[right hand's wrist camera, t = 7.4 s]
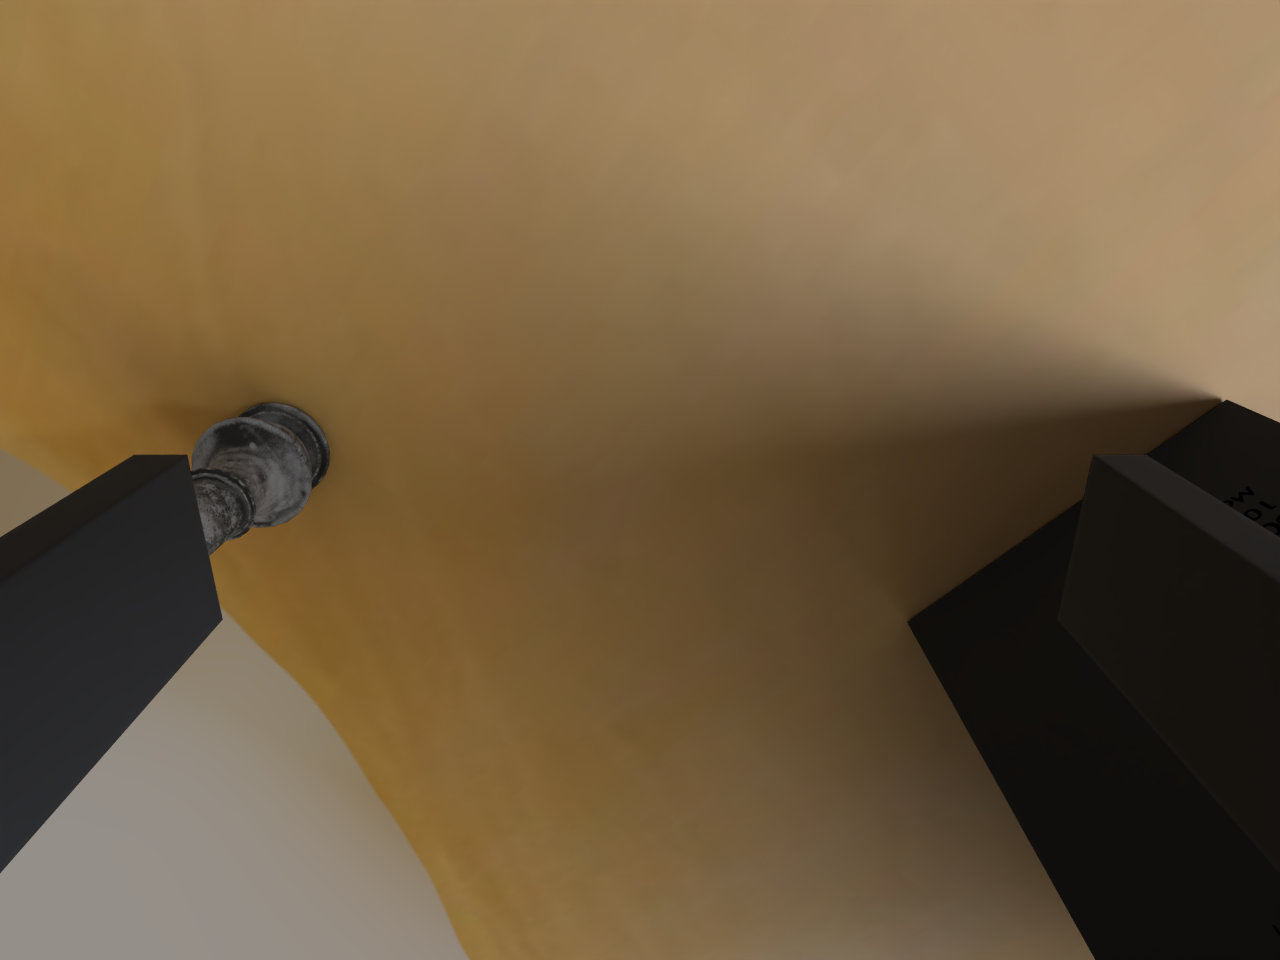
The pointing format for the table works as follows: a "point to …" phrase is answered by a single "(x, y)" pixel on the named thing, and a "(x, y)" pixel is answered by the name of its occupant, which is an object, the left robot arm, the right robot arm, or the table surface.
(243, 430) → the grey tiered upright piece
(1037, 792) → the cardboard box
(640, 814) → the table surface
